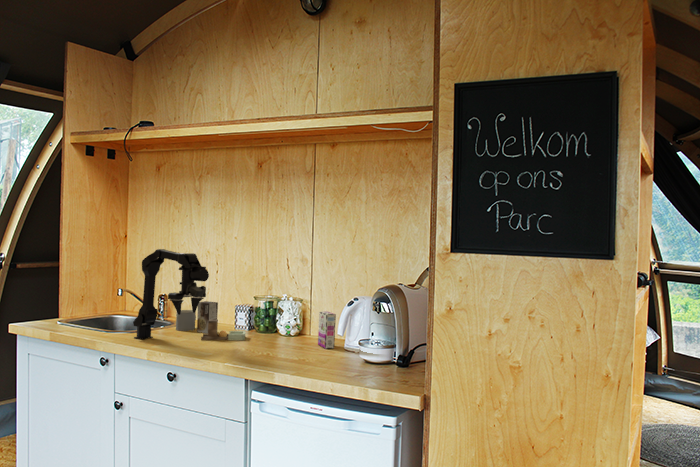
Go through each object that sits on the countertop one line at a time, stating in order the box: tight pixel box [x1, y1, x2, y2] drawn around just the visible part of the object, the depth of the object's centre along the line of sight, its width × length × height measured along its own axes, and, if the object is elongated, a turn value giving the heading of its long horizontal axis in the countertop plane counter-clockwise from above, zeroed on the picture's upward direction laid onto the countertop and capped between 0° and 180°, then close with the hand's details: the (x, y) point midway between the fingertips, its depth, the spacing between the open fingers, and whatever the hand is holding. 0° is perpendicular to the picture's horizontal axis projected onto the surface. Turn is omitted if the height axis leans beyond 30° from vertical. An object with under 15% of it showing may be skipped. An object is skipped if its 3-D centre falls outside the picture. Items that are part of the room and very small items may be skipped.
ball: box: [218, 330, 228, 337], centre depth 265 cm, size 4×4×4 cm
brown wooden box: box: [208, 318, 219, 337], centre depth 264 cm, size 4×6×9 cm
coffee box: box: [196, 300, 219, 334], centre depth 282 cm, size 9×6×16 cm
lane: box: [200, 333, 229, 341], centre depth 264 cm, size 13×9×2 cm
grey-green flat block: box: [227, 330, 246, 341], centre depth 266 cm, size 8×9×3 cm
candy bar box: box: [317, 311, 337, 350], centre depth 253 cm, size 11×5×16 cm, turn 22°
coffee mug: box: [175, 309, 197, 332], centre depth 290 cm, size 13×10×10 cm
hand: (186, 313), depth 246 cm, fingers open, 9 cm apart
